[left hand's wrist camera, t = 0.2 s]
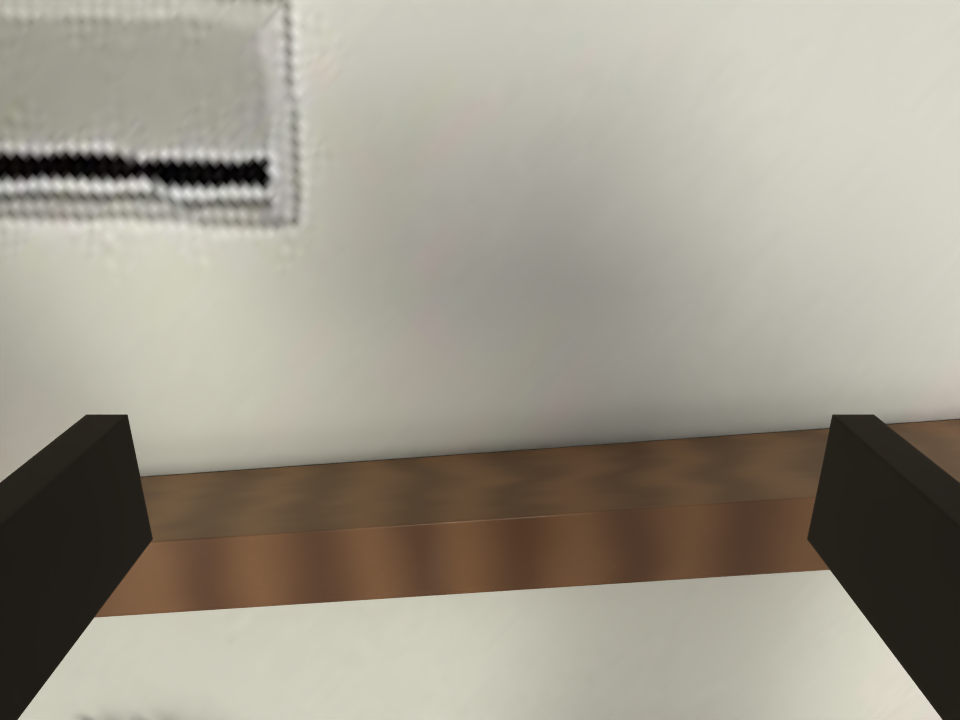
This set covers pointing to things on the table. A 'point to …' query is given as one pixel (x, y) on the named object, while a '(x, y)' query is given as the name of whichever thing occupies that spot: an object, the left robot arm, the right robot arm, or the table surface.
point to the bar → (488, 521)
